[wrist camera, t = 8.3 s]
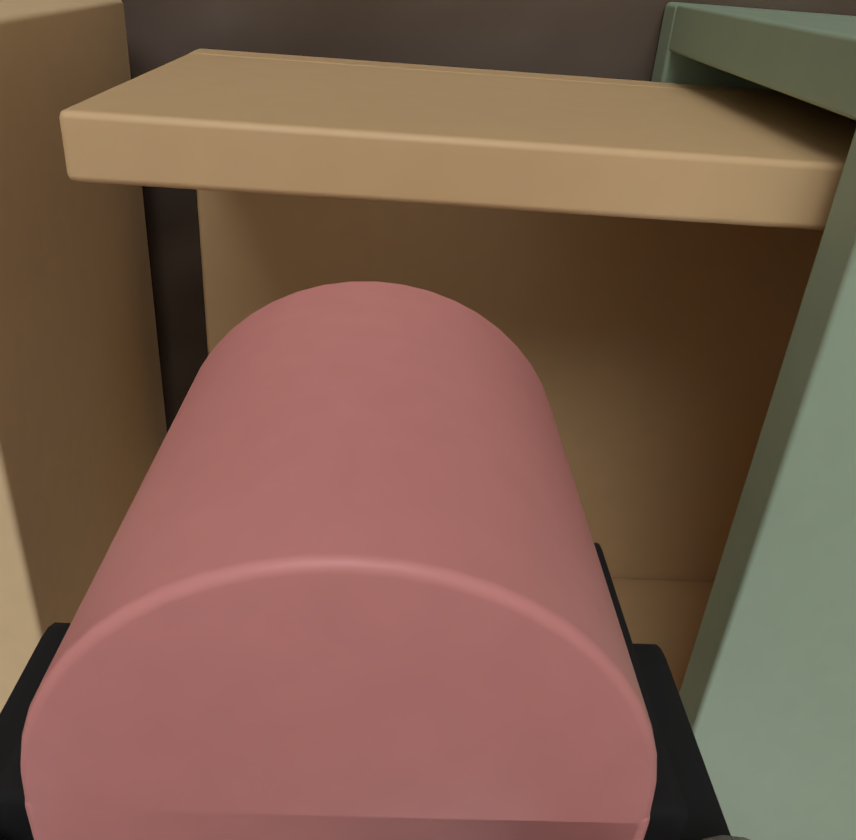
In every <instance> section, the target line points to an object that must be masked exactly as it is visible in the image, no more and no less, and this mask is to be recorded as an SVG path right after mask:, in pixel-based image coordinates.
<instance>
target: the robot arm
mask: <svg viewBox="0 0 856 840" xmlns="http://www.w3.org/2000/svg"><path fill="white" fill-rule="evenodd" d="M594 545H595V548H596V551H597V554H598V558H599V561H600V564H601V567H602V570H603V573H604V577H605V580H606V583H607V586H608V589H609V592H610V596H611V599H612V602H613V605H614V608H615V611H616V614H617V618H618V621H619V624H620V627H621V630H622V633H623V637H624V640H625V643H626V646H627V649H628V652H629V655H630V659H631V662H632V665H633V668H634V671H635V674H636V678H637V681H638V684H639V687H640V690H641V693H642V696H643V700H644V703H645V706H646V709H647V712H648V715H649V719H650V722H651V725H652V729H653V735H654V740H655V745H656V751H657V782H656V787H655V792H654V797H653V802H652V806H651V811H650V821H649V824H648V827H647V830H646V833H645V837H644V840H750V839H747V838H745V837H738V836H731V834H730V832H729V829H728V826H727V824H726V821H725V818H724V815H723V813H722V810H721V807H720V804H719V802H718V799H717V796H716V794H715V791H714V788H713V785H712V783H711V780H710V777H709V774H708V772H707V769H706V766H705V764H704V761H703V758H702V755H701V753H700V750H699V747H698V744H697V742H696V739H695V736H694V733H693V731H692V728H691V725H690V723H689V720H688V717H687V714H686V712H685V709H684V706H683V703H682V701H681V698H680V695H679V693H678V690H677V687H676V684H675V682H674V679H673V676H672V673H671V671H670V668H669V665H668V662H667V660H666V658H665V655H664V653H663V651H662V649H661V648H660V647H659V646H658V645H657V644H634V643H632V640H631V637H630V634H629V631H628V628H627V624H626V621H625V618H624V615H623V612H622V609H621V606H620V603H619V600H618V597H617V594H616V591H615V588H614V585H613V581H612V578H611V575H610V572H609V569H608V566H607V563H606V560H605V557H604V554H603V551H602V548H601V546H600V544H598V543H595V542H594ZM70 624H71V623H57V622H55V623H53V624H52V625H51V626H49V627H48V628H47V630H46V631H45V633H44V634H43V636H42V637H41V639H40V641H39V643H38V644H37V646H36V648H35V650H34V652H33V654H32V656H31V657H30V659H29V661H28V663H27V665H26V667H25V669H24V670H23V672H22V674H21V676H20V678H19V680H18V682H17V683H16V685H15V687H14V689H13V691H12V693H11V695H10V696H9V698H8V700H7V702H6V704H5V706H4V708H3V709H2V711H1V713H0V840H34V838H33V834H32V830H31V827H30V823H29V819H28V816H27V812H26V808H25V795H24V789H23V783H22V777H21V741H22V732H23V728H24V725H25V721H26V717H27V713H28V709H29V706H30V704H31V702H32V700H33V698H34V696H35V694H36V692H37V690H38V688H39V686H40V684H41V682H42V679H43V677H44V676H45V674H46V672H47V670H48V668H49V666H50V664H51V662H52V660H53V658H54V656H55V654H56V652H57V650H58V648H59V646H60V644H61V642H62V640H63V638H64V636H65V634H66V632H67V630H68V628H69V626H70Z"/></svg>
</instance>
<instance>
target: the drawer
mask: <svg viewBox="0 0 856 840" xmlns="http://www.w3.org/2000/svg"><path fill="white" fill-rule="evenodd" d="M855 130H856V121H855V120H853V119H850V118H847V117H845V116H842V115H839V114H837V113H834V112H831V111H829V110H826V109H824V108H821V107H818V106H816V105H813V104H810V103H808V102H805V101H802V100H800V99H797V98H794V97H792V96H789V95H786V94H784V93H781V92H778V91H773V90H760V89H746V88H733V87H719V86H705V85H692V84H678V83H664V82H651V81H637V80H623V79H610V78H596V77H582V76H569V75H555V74H541V73H528V72H514V71H500V70H487V69H473V68H459V67H446V66H432V65H418V64H405V63H391V62H377V61H364V60H350V59H336V58H323V57H309V56H295V55H282V54H268V53H254V52H241V51H227V50H213V49H197V50H195V51H193V52H190V53H188V54H187V55H185V56H183V57H180V58H178V59H176V60H174V61H172V62H169V63H167V64H165V65H163V66H160V67H158V68H156V69H154V70H151V71H149V72H147V73H145V74H142V75H140V76H138V77H136V78H134V79H131V74H130V64H129V54H128V45H127V35H126V25H125V15H124V5H123V3H122V0H0V713H1V711H2V709H3V708H4V706H5V704H6V702H7V700H8V698H9V696H10V695H11V693H12V691H13V689H14V687H15V685H16V683H17V682H18V680H19V678H20V676H21V674H22V672H23V670H24V669H25V667H26V665H27V663H28V661H29V659H30V657H31V656H32V654H33V652H34V650H35V648H36V646H37V644H38V643H39V641H40V639H41V637H42V636H43V634H44V633H45V631H46V630H47V628H48V627H49V626H51V625H52V624H53V623H55V622H57V623H71V622H72V620H73V618H74V616H75V614H76V612H77V610H78V608H79V606H80V604H81V602H82V600H83V598H84V597H85V595H86V593H87V591H88V589H89V587H90V585H91V583H92V581H93V579H94V577H95V575H96V573H97V571H98V569H99V567H100V565H101V563H102V561H103V559H104V557H105V555H106V553H107V551H108V549H109V547H110V545H111V543H112V541H113V539H114V537H115V535H116V533H117V531H118V529H119V527H120V525H121V523H122V521H123V519H124V518H125V516H126V514H127V512H128V510H129V508H130V506H131V504H132V502H133V500H134V498H135V496H136V494H137V492H138V490H139V488H140V486H141V484H142V482H143V480H144V478H145V476H146V474H147V472H148V470H149V468H150V466H151V464H152V462H153V460H154V458H155V456H156V454H157V452H158V450H159V448H160V446H161V444H162V442H163V440H164V439H165V437H166V435H167V428H166V418H165V408H164V398H163V389H162V379H161V369H160V359H159V349H158V339H157V330H156V320H155V310H154V300H153V290H152V280H151V271H150V261H149V251H148V241H147V231H146V221H145V212H144V202H143V192H142V186H148V187H164V188H179V189H195V190H197V203H198V218H199V232H200V246H201V261H202V275H203V290H204V304H205V318H206V333H207V347H208V356H209V354H210V353H211V351H212V350H213V349H214V347H215V346H216V345H217V344H218V343H219V342H220V341H221V340H222V339H223V338H224V337H225V336H226V335H227V334H228V332H229V331H230V330H231V329H233V328H234V327H235V326H237V325H238V324H239V323H240V322H242V321H243V320H244V319H246V318H247V317H248V316H249V315H251V314H252V313H254V312H256V311H258V310H259V309H261V308H263V307H265V306H266V305H268V304H270V303H272V302H273V301H276V300H278V299H281V298H283V297H286V296H288V295H291V294H293V293H296V292H298V291H302V290H306V289H310V288H314V287H318V286H321V285H327V284H335V283H343V282H370V281H378V282H386V283H394V284H402V285H407V286H411V287H415V288H419V289H423V290H427V291H431V292H434V293H436V294H439V295H441V296H444V297H447V298H449V299H452V300H454V301H456V302H458V303H460V304H462V305H464V306H466V307H467V308H469V309H471V310H473V311H475V312H477V313H478V314H480V315H481V316H482V317H484V318H485V319H487V320H488V321H489V322H491V323H492V324H493V325H495V326H496V327H497V328H499V329H500V330H501V331H502V332H503V333H504V334H505V335H506V336H507V337H508V338H509V339H510V340H511V341H512V342H513V343H514V344H515V345H516V346H517V347H518V348H519V350H520V351H521V352H522V353H523V355H524V356H525V357H526V359H527V360H528V361H529V362H530V364H531V365H532V367H533V369H534V371H535V372H536V374H537V376H538V378H539V379H540V381H541V383H542V385H543V388H544V390H545V393H546V395H547V398H548V401H549V403H550V406H551V409H552V413H553V416H554V419H555V422H556V425H557V428H558V431H559V435H560V438H561V441H562V444H563V447H564V450H565V454H566V457H567V460H568V463H569V466H570V469H571V472H572V476H573V479H574V482H575V485H576V488H577V491H578V495H579V498H580V501H581V504H582V507H583V510H584V513H585V517H586V520H587V523H588V526H589V529H590V532H591V536H592V539H593V542H595V543H598V544H600V546H601V548H602V551H603V554H604V557H605V560H606V563H607V566H608V569H609V572H610V575H611V578H612V581H613V585H614V588H615V591H616V594H617V597H618V600H619V603H620V606H621V609H622V612H623V615H624V618H625V621H626V624H627V628H628V631H629V634H630V637H631V640H632V643H634V644H657V645H658V646H659V647H660V648H661V649H662V651H663V653H664V655H665V658H666V660H667V662H668V665H669V668H670V671H671V673H672V676H673V679H674V682H675V684H676V687H677V690H678V693H679V692H680V689H681V686H682V683H683V680H684V676H685V673H686V670H687V667H688V664H689V660H690V657H691V654H692V651H693V648H694V644H695V641H696V638H697V635H698V632H699V628H700V625H701V622H702V619H703V616H704V612H705V609H706V606H707V603H708V600H709V596H710V593H711V590H712V587H713V584H714V580H715V577H716V574H717V571H718V568H719V564H720V561H721V558H722V555H723V552H724V548H725V545H726V542H727V539H728V536H729V533H730V529H731V526H732V523H733V520H734V517H735V513H736V510H737V507H738V504H739V501H740V497H741V494H742V491H743V488H744V485H745V481H746V478H747V475H748V472H749V469H750V465H751V462H752V459H753V456H754V453H755V449H756V446H757V443H758V440H759V437H760V433H761V430H762V427H763V424H764V421H765V417H766V414H767V411H768V408H769V405H770V401H771V398H772V395H773V392H774V389H775V385H776V382H777V379H778V376H779V373H780V369H781V366H782V363H783V360H784V357H785V354H786V350H787V347H788V344H789V341H790V338H791V334H792V331H793V328H794V325H795V322H796V318H797V315H798V312H799V309H800V306H801V302H802V299H803V296H804V293H805V290H806V286H807V283H808V280H809V277H810V274H811V270H812V267H813V264H814V261H815V258H816V254H817V251H818V248H819V245H820V242H821V238H822V235H823V232H824V229H825V226H826V222H827V219H828V216H829V213H830V210H831V206H832V203H833V200H834V197H835V194H836V190H837V187H838V184H839V181H840V178H841V174H842V171H843V168H844V165H845V162H846V159H847V155H848V152H849V149H850V146H851V143H852V139H853V136H854V133H855Z"/></svg>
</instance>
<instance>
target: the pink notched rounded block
mask: <svg viewBox="0 0 856 840" xmlns="http://www.w3.org/2000/svg"><path fill="white" fill-rule="evenodd" d="M21 777H22V783H23V789H24V795H25V808H26V812H27V816H28V819H29V823H30V827H31V830H32V834H33V838H34V840H644V837H645V833H646V830H647V827H648V824H649V821H650V811H651V806H652V802H653V797H654V792H655V787H656V782H657V751H656V745H655V740H654V735H653V729H652V725H651V722H650V719H649V715H648V712H647V709H646V706H645V703H644V700H643V696H642V693H641V690H640V687H639V684H638V681H637V678H636V674H635V671H634V668H633V665H632V662H631V659H630V655H629V652H628V649H627V646H626V643H625V640H624V637H623V633H622V630H621V627H620V624H619V621H618V618H617V614H616V611H615V608H614V605H613V602H612V599H611V596H610V592H609V589H608V586H607V583H606V580H605V577H604V573H603V570H602V567H601V564H600V561H599V558H598V554H597V551H596V548H595V545H594V542H593V539H592V536H591V532H590V529H589V526H588V523H587V520H586V517H585V513H584V510H583V507H582V504H581V501H580V498H579V495H578V491H577V488H576V485H575V482H574V479H573V476H572V472H571V469H570V466H569V463H568V460H567V457H566V454H565V450H564V447H563V444H562V441H561V438H560V435H559V431H558V428H557V425H556V422H555V419H554V416H553V413H552V409H551V406H550V403H549V401H548V398H547V395H546V393H545V390H544V388H543V385H542V383H541V381H540V379H539V378H538V376H537V374H536V372H535V371H534V369H533V367H532V365H531V364H530V362H529V361H528V360H527V359H526V357H525V356H524V355H523V353H522V352H521V351H520V350H519V348H518V347H517V346H516V345H515V344H514V343H513V342H512V341H511V340H510V339H509V338H508V337H507V336H506V335H505V334H504V333H503V332H502V331H501V330H500V329H499V328H497V327H496V326H495V325H493V324H492V323H491V322H489V321H488V320H487V319H485V318H484V317H482V316H481V315H480V314H478V313H477V312H475V311H473V310H471V309H469V308H467V307H466V306H464V305H462V304H460V303H458V302H456V301H454V300H452V299H449V298H447V297H444V296H441V295H439V294H436V293H434V292H431V291H427V290H423V289H419V288H415V287H411V286H407V285H402V284H394V283H386V282H378V281H370V282H343V283H335V284H327V285H321V286H318V287H314V288H310V289H306V290H302V291H298V292H296V293H293V294H291V295H288V296H286V297H283V298H281V299H278V300H276V301H273V302H272V303H270V304H268V305H266V306H265V307H263V308H261V309H259V310H258V311H256V312H254V313H252V314H251V315H249V316H248V317H247V318H246V319H244V320H243V321H242V322H240V323H239V324H238V325H237V326H235V327H234V328H233V329H231V330H230V331H229V332H228V334H227V335H226V336H225V337H224V338H223V339H222V340H221V341H220V342H219V343H218V344H217V345H216V346H215V347H214V349H213V350H212V351H211V353H210V354H209V356H208V357H207V358H206V360H205V361H204V363H203V364H202V366H201V367H200V369H199V371H198V373H197V375H196V377H195V379H194V381H193V383H192V385H191V387H190V389H189V391H188V393H187V395H186V397H185V399H184V401H183V403H182V405H181V407H180V409H179V411H178V413H177V415H176V417H175V419H174V421H173V423H172V425H171V427H170V429H169V431H168V433H167V435H166V437H165V439H164V440H163V442H162V444H161V446H160V448H159V450H158V452H157V454H156V456H155V458H154V460H153V462H152V464H151V466H150V468H149V470H148V472H147V474H146V476H145V478H144V480H143V482H142V484H141V486H140V488H139V490H138V492H137V494H136V496H135V498H134V500H133V502H132V504H131V506H130V508H129V510H128V512H127V514H126V516H125V518H124V519H123V521H122V523H121V525H120V527H119V529H118V531H117V533H116V535H115V537H114V539H113V541H112V543H111V545H110V547H109V549H108V551H107V553H106V555H105V557H104V559H103V561H102V563H101V565H100V567H99V569H98V571H97V573H96V575H95V577H94V579H93V581H92V583H91V585H90V587H89V589H88V591H87V593H86V595H85V597H84V598H83V600H82V602H81V604H80V606H79V608H78V610H77V612H76V614H75V616H74V618H73V620H72V622H71V624H70V626H69V628H68V630H67V632H66V634H65V636H64V638H63V640H62V642H61V644H60V646H59V648H58V650H57V652H56V654H55V656H54V658H53V660H52V662H51V664H50V666H49V668H48V670H47V672H46V674H45V676H44V677H43V679H42V682H41V684H40V686H39V688H38V690H37V692H36V694H35V696H34V698H33V700H32V702H31V704H30V706H29V709H28V713H27V717H26V721H25V725H24V728H23V732H22V741H21Z"/></svg>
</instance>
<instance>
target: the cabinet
mask: <svg viewBox="0 0 856 840" xmlns="http://www.w3.org/2000/svg"><path fill="white" fill-rule="evenodd" d="M651 82H664V83H678V84H692V85H705V86H719V87H733V88H746V89H760V90H773V91H778V92H781V93H784V94H786V95H789V96H792V97H794V98H797V99H800V100H802V101H805V102H808V103H810V104H813V105H816V106H818V107H821V108H824V109H826V110H829V111H831V112H834V113H837V114H839V115H842V116H845V117H847V118H850V119H853V120H855V121H856V16H847V15H834V14H821V13H809V12H796V11H783V10H770V9H757V8H745V7H732V6H719V5H706V4H693V3H681V2H669V3H667V5H666V7H665V11H664V17H663V22H662V27H661V32H660V38H659V43H658V48H657V53H656V59H655V64H654V69H653V75H652V80H651ZM679 695H680V698H681V701H682V703H683V706H684V709H685V712H686V714H687V717H688V720H689V723H690V725H691V728H692V731H693V733H694V736H695V739H696V742H697V744H698V747H699V750H700V753H701V755H702V758H703V761H704V764H705V766H706V769H707V772H708V774H709V777H710V780H711V783H712V785H713V788H714V791H715V794H716V796H717V799H718V802H719V804H720V807H721V810H722V813H723V815H724V818H725V821H726V824H727V826H728V829H729V832H730V834H731V836H738V837H745V838H747V839H750V840H856V130H855V133H854V136H853V139H852V143H851V146H850V149H849V152H848V155H847V159H846V162H845V165H844V168H843V171H842V174H841V178H840V181H839V184H838V187H837V190H836V194H835V197H834V200H833V203H832V206H831V210H830V213H829V216H828V219H827V222H826V226H825V229H824V232H823V235H822V238H821V242H820V245H819V248H818V251H817V254H816V258H815V261H814V264H813V267H812V270H811V274H810V277H809V280H808V283H807V286H806V290H805V293H804V296H803V299H802V302H801V306H800V309H799V312H798V315H797V318H796V322H795V325H794V328H793V331H792V334H791V338H790V341H789V344H788V347H787V350H786V354H785V357H784V360H783V363H782V366H781V369H780V373H779V376H778V379H777V382H776V385H775V389H774V392H773V395H772V398H771V401H770V405H769V408H768V411H767V414H766V417H765V421H764V424H763V427H762V430H761V433H760V437H759V440H758V443H757V446H756V449H755V453H754V456H753V459H752V462H751V465H750V469H749V472H748V475H747V478H746V481H745V485H744V488H743V491H742V494H741V497H740V501H739V504H738V507H737V510H736V513H735V517H734V520H733V523H732V526H731V529H730V533H729V536H728V539H727V542H726V545H725V548H724V552H723V555H722V558H721V561H720V564H719V568H718V571H717V574H716V577H715V580H714V584H713V587H712V590H711V593H710V596H709V600H708V603H707V606H706V609H705V612H704V616H703V619H702V622H701V625H700V628H699V632H698V635H697V638H696V641H695V644H694V648H693V651H692V654H691V657H690V660H689V664H688V667H687V670H686V673H685V676H684V680H683V683H682V686H681V689H680V692H679Z"/></svg>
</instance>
